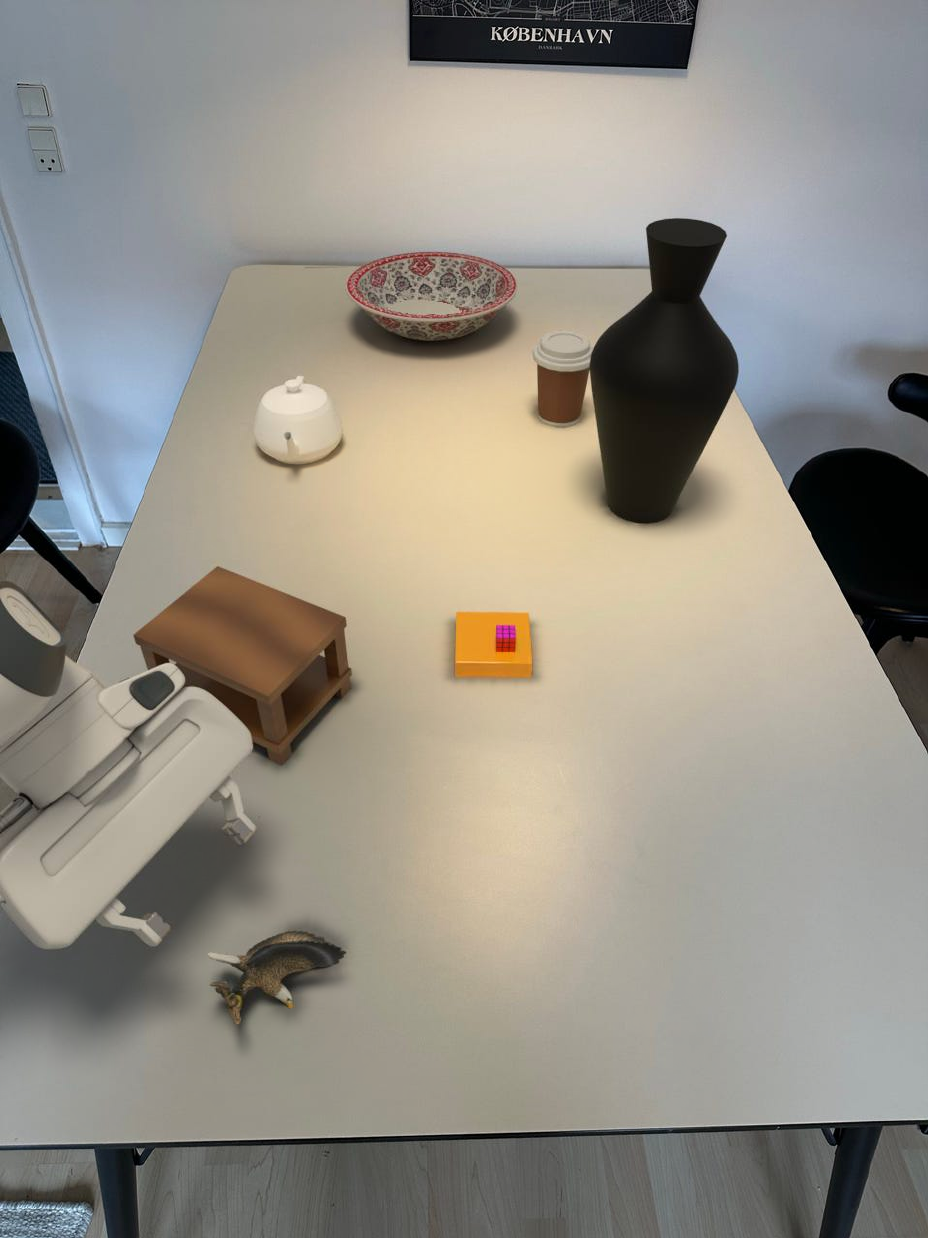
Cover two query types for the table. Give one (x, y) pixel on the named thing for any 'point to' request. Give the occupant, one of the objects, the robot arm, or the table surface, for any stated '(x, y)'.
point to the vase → (662, 376)
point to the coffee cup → (562, 376)
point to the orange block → (493, 644)
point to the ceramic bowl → (432, 292)
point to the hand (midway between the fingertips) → (206, 885)
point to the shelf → (253, 653)
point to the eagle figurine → (274, 966)
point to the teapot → (297, 423)
